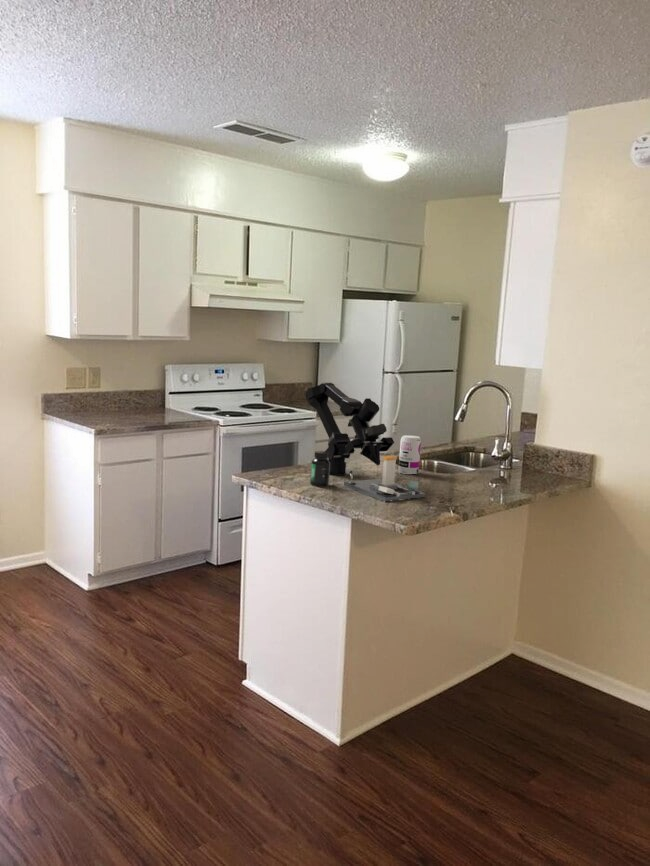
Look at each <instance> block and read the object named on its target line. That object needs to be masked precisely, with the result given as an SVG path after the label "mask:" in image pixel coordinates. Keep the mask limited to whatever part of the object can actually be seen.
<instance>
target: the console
mask: <svg viewBox="0 0 650 866" xmlns="http://www.w3.org/2000/svg"><path fill="white" fill-rule="evenodd" d="M378 483H382V478H373V479H361V480H359V479H358V480H349V481H348V480H347V481H343V487H345V486H346V487H345V488H347V489H350V488H351V490H353V489H354V490H353V491H355V490H357V491H356V492H358V491H359V492H358V493H360V492H362V493H361V494H363V493H365V494H367V495H366V496H368V495H370V496H373V497H375V498H374V499H376V498H378V499H381V500H383V501H390V500H399V499H408V500H410V499H409V498H417V499H421V498H420V497H425V498H426V492H422V491H421V490H419V489H418V490H411V489H408V486H406V485H403V484H400V483H398V482H395V481H394V484H396V485H398V489H393V490H394V494H390V493H386V492H383V491H380V490H378V489H379V486H378ZM365 494H364V495H365ZM370 496H369V497H370ZM373 497H372V498H373ZM378 499H377V500H378ZM381 500H380V501H381ZM383 501H382V502H383ZM399 501H400V500H399Z"/></svg>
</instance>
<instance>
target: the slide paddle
mask: <svg viewBox="0 0 650 866" xmlns="http://www.w3.org/2000/svg"><path fill="white" fill-rule="evenodd" d="M382 460H383V465H382V483H378V486H383V487H387V488H390V489H392V490H393V489H398V485H396V484H394V482H395V476H396V463H397V462H396V461H397V460H398V456H395V455H387V456H383V457H382Z"/></svg>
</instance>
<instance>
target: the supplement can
mask: <svg viewBox="0 0 650 866" xmlns="http://www.w3.org/2000/svg"><path fill="white" fill-rule="evenodd" d="M399 445H400V446H399V456H398V468H397V471H398V473H399V474H400V473H403V474H417V473H418V474H419V472H420V470H419V469H420V462H421V461H420V460H421V448H422V439H421V437H420V436H418V435H412V434H411V435H410V434H404V435H402V436H401V438H400V443H399ZM403 474H402V475H403ZM418 474H417V475H418Z"/></svg>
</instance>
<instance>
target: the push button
mask: <svg viewBox="0 0 650 866" xmlns="http://www.w3.org/2000/svg"><path fill="white" fill-rule="evenodd" d="M407 487H408V489H411V490H419V482H418V481H411V480H410V481H408V486H407Z"/></svg>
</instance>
